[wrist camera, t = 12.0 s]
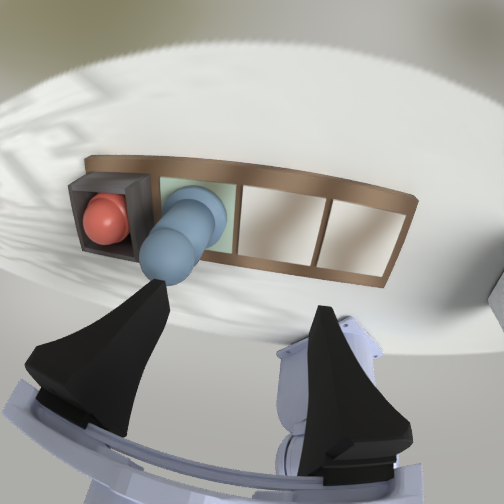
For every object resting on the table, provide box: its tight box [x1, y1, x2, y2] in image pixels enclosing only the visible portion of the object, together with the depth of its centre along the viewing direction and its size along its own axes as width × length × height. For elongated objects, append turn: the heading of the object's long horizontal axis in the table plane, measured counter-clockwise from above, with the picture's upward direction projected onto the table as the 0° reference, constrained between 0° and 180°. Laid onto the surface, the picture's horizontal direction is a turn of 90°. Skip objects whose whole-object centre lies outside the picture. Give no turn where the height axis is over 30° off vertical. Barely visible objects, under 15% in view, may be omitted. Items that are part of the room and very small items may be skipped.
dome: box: [83, 192, 130, 245], centre depth 18 cm, size 4×4×4 cm
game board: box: [68, 155, 419, 288], centre depth 19 cm, size 26×8×4 cm, turn 85°
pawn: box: [139, 185, 227, 286], centre depth 17 cm, size 5×5×7 cm
